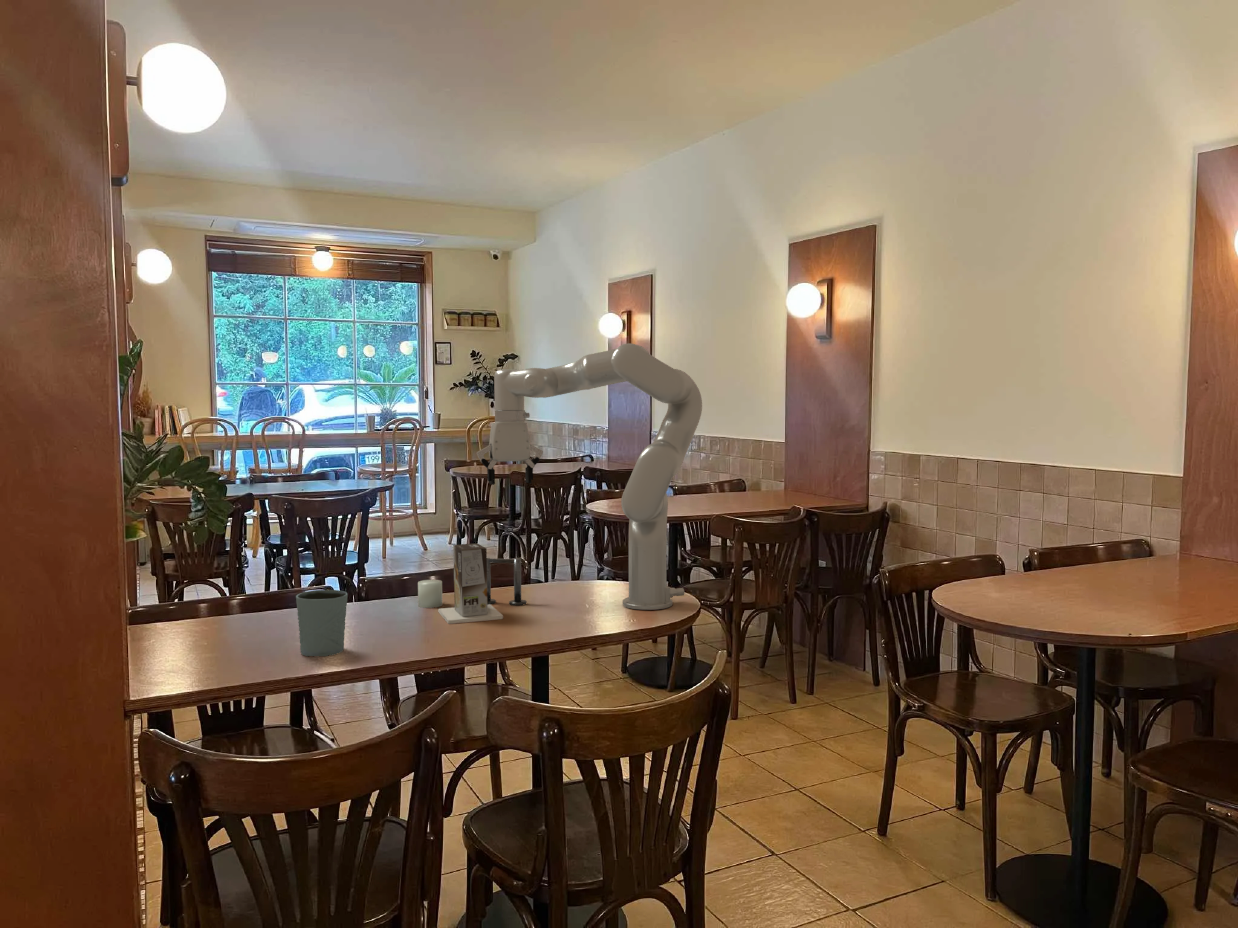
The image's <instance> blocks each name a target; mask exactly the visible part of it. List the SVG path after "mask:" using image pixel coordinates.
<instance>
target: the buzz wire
mask: <svg viewBox="0 0 1238 928" xmlns="http://www.w3.org/2000/svg"><path fill="white" fill-rule="evenodd" d="M491 563H494V564H495V563H497V564H499V563H501V564H513V596H514V598H513V599H511V600H509V601H508V603H509V604H510V606H514V607H515V606H516V607H520V606H524V605H523V604H525V605H527V604H526V603H527V600H526V599H522V559H521V558H493V557H492V558H490V557H487V605H489V604H490V605H494V604H496V603H497V600H496V599H495V598H492V596H491V595H492V594H491V593H492V592H491V591H492V588H491V585H492V583H491V579H492V578H491ZM509 604H508V605H509ZM454 607H455V605H454ZM454 607H453V608H454Z"/></svg>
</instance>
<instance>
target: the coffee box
mask: <svg viewBox="0 0 1238 928" xmlns="http://www.w3.org/2000/svg"><path fill="white" fill-rule="evenodd" d="M452 548H453V550H452V553H453V556H452V557H453V584H454V585H453V587H454V588H453V589H454V599H453V600H454V606H455V610H456V611H457V612H458V613H459V614H460V615H462V616H463V617H466V616H476V615H486V614H487V558H488V557H487V555H488V554H487V549H488V548H487V547H484V545H481V544H479V543H463V544H453V546H452Z"/></svg>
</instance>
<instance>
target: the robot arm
mask: <svg viewBox="0 0 1238 928" xmlns="http://www.w3.org/2000/svg"><path fill="white" fill-rule="evenodd" d="M493 375H494V377H493V379H494V381H493V382H494V422H492V423H491V425H490V432H489V443H488V445H487V446H485V447H484V448H482V449H480V450H478V451H476V452H475V453H476V456H477V458H478V459H479V462H480V463H481V464H482V465H483V466H484V467H485V469H486V470H487V471H486V472H487V479H486V480H487V482H489V483H488V484H489V485H492V486H493V485H495V484H496V470H495V469H494V467H495V465H497V464H498V462H524V464H525V465H526V466H525V469H524V470H525V471H524V473H525V474H524V475H525V483H527V484H532V480H534V467H535V466H536V465H537V464H538V462H540V460H541V458H542V455H543V453H544V451H543V450H542V449H540V448H538V447H536V446H534V445H532V444H530V443H531V442H530V435H529V434H530V433H529V428H528V422H525V420H526V419H530V415H531V414H530V412H527V411H525V397H526V398H534V399H536V398H537V399H538V398H543V399H546V398H552V397H556V396H562V395H565V394H571V393H575V392H576V393H577V392H579V391H586V390H591V389H596V388H601V387H606V386H609V385H615V384H619V383H624V382H628V383H629V384H630V385H632V386H633V387H636V388H637V389H639V390H640V391H641V392H643V393H645V394H646V395H648V396H650V397H652V398H653V399H655V400H656V401H659V402H660V403H663V404H667V406H668V407H667V411H666V414H665V415H664V418H663V419H662V422H661V423H660V426H659V429H658V431H657V434H656V436H655V438H654V440H653V442H652V443H650V444H648V445H647V446H645V447H644V449H643V450H642V451H641V453H640V454H639V456H638V458H637V460H636V463H635V465H634V467H633V469H632V472H631V475H630V477H629V478H628V480H627V484H626V485H625V488H624V490H623V493H622V494H621V495H622V496H621V501H620V503H621V509H622V511H623V514H624V515H625V516H626V518H627V519H629V522H628V523H629V524H628V597H625V598H624V599H622V606H623V607H625V608H627V609H632V610H642V611H651V610H652V611H653V610H663V609H668V608H670V607H672V606H673V603H674V602H673V599H672V598H673V597H675V596H676V597H680V596H681V597H684V595H685V590H684V589H685V588H684V587H679V588H678V587H677V588H675V587H670V586H668V585H667V530H668V529H667V527H668V525H667V524H668V511H669V510H668V509H669V508H668V507H669V506H668V505H669V500H668V499H669V498H668V495H667V491H668V489H669V487H670V485H671V482H672V480H673V478H674V477H675V476H676V475H677V474H678V473H679V472H680V471H681V469H682V465H683V463H684V460H685V458H686V455H687V452H688V450H689V448H690V445H691V444H692V441H693V437H694V435H695V432H696V430H697V428H698V425H699V423H700V420H701V416H702V411H703V399H702V395H701V392H700V389H699V388H698V387H699V386H697V384H696V382H695V381H694V380H693V378H692V377H691V376H690V375H689V374H688V373H686V371H683V370H681V369H678V368H673V367H671V366H670V365H668V364H667V363H665V362H663V361H661V360H660V359H658V358H656V357H655V356H653V355H652V354H650V352H649V351H648V350H647V349H646V348H645V347H644V346H642V345H639V344H636V343H631V342H630V343H624V344H621V345H619V346H618V347H617V348H614V349H609V350H606V351H600V352H595V353H589V354H586V355H583V356H582V357H581V358H579V359H578V360H576V361H574V362H570V363H568V364H561V365H559V366H554V367H548V368H541V367H529V368H525V369H517V368H516V369H513V368H512V369H511V368H508V369H507V368H506V369H505V368H504V369H498V370H495V373H494V374H493ZM531 452H534V453H535V455H534V457H533V458H532V459H530V458H531ZM487 453H488V458H489V460H487V459H486V457H485V454H487Z"/></svg>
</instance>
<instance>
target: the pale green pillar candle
mask: <svg viewBox="0 0 1238 928" xmlns="http://www.w3.org/2000/svg"><path fill="white" fill-rule="evenodd" d="M417 601H418V602H417V603H418V607H419V608H422V609H433V608H434V607H435V608H440V607H442V606H443V581H442V580H441V579H423V580H420V581H419V580H418V582H417ZM435 608H434V609H435Z"/></svg>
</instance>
